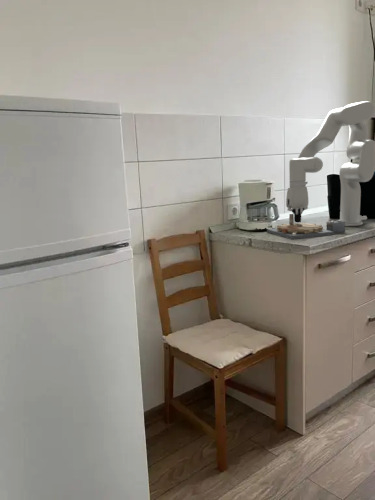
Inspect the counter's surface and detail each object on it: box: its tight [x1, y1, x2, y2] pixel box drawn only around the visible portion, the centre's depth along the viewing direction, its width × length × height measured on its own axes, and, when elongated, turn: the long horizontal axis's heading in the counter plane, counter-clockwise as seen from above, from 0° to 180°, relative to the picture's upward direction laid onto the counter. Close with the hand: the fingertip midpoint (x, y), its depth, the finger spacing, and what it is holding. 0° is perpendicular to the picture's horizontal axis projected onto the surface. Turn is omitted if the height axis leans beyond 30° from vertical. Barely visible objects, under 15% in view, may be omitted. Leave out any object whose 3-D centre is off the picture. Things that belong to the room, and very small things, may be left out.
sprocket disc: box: [276, 213, 324, 234], centre depth 203 cm, size 21×21×7 cm
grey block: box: [326, 219, 346, 234], centre depth 203 cm, size 4×7×6 cm, turn 110°
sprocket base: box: [266, 227, 335, 240], centre depth 204 cm, size 22×22×2 cm
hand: (297, 221), depth 211 cm, fingers closed
